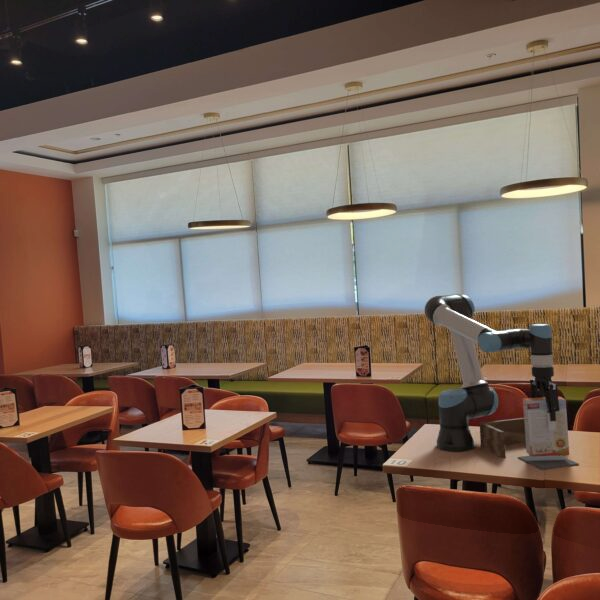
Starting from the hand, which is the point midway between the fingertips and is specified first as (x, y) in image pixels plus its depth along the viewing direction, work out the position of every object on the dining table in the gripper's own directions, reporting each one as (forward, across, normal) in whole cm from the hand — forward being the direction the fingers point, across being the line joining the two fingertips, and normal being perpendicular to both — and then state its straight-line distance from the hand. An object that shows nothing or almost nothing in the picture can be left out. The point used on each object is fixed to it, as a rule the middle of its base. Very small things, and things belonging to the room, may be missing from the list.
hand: (545, 427), depth 214 cm
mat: (+13, 0, 0) cm, 13 cm away
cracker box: (+10, 0, 0) cm, 10 cm away
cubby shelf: (+13, +18, -1) cm, 22 cm away
